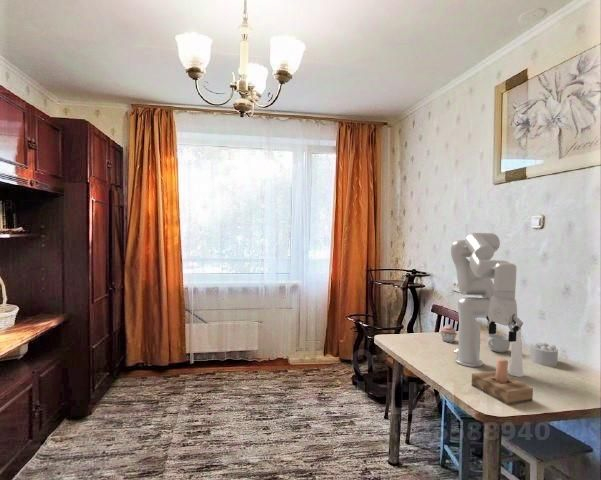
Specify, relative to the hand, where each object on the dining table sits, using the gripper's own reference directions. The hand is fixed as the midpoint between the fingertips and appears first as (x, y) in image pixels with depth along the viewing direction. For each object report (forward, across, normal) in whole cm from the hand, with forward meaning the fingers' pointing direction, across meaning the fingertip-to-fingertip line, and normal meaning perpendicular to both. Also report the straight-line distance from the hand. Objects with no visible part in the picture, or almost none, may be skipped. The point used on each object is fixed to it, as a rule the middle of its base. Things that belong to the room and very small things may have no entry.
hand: (501, 337), depth 150 cm
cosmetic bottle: (+23, -13, +22) cm, 34 cm away
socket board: (+22, +1, 0) cm, 22 cm away
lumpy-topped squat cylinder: (+23, -22, +50) cm, 60 cm away
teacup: (+24, -42, +40) cm, 63 cm away
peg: (+21, +1, 0) cm, 21 cm away
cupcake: (+24, -64, +28) cm, 74 cm away
